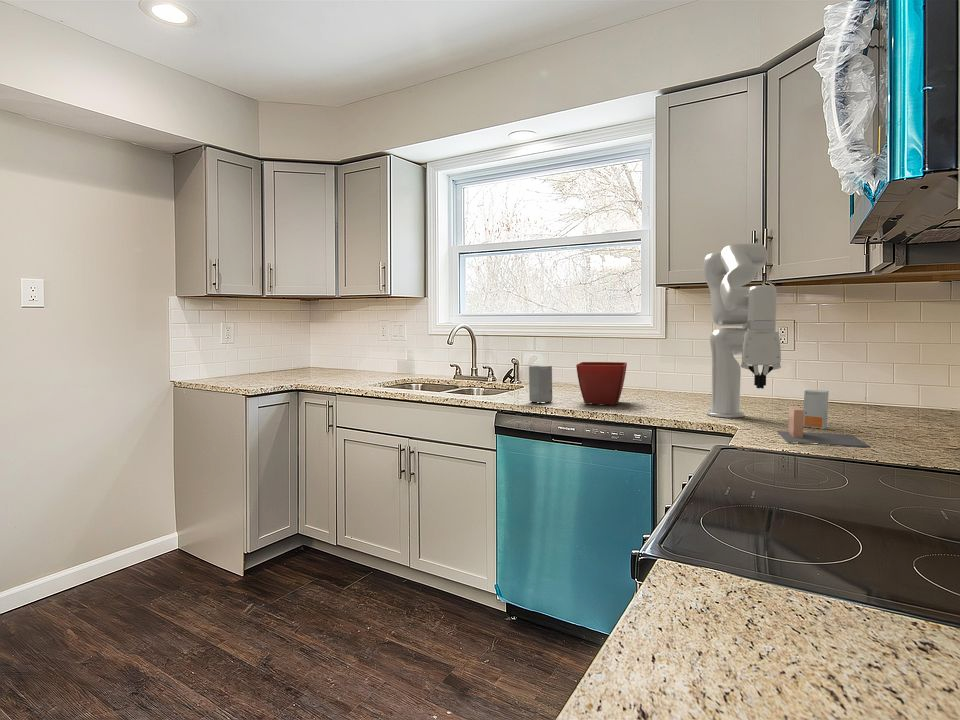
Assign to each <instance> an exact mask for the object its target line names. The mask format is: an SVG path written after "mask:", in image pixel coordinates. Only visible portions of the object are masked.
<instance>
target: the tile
mask: <svg viewBox="0 0 960 720" xmlns="http://www.w3.org/2000/svg"><path fill="white" fill-rule="evenodd" d="M803 421H804V408H801V407H800V406H789V407H788V428H787V430H788V431H787V432H788V433H789V434H790V435H792V436H793V437H802V438H803V432H804V427H803Z"/></svg>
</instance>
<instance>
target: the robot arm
mask: <svg viewBox="0 0 960 720" xmlns="http://www.w3.org/2000/svg"><path fill="white" fill-rule="evenodd" d="M768 258H769V256H768V250H767V248H766V246H765V245H764V244H762V243H759V242H757V243H756V242H754V243H753V242H749V243H746V242H745V243H732V244H728V245H727V246H725V247H724V248H723V249H722V250H721V251H715V252H714V251H713V252H711V253H709V254H707V255H706V256H705V257H704V259H703V275H704V278H705V281H706V284H707V286H708V290H709V292H710V293H709V295H710V303H711V304H710V305H711V315H712V320H713V323H714V324H715V325H716V326H719V327H723V328H717V329H714V330H713V331H712V333H711V334H710V338H709V344H710V350H711V395H710V396H711V400H710V401H711V406H710V409H708V410H706V415H708V416H711V417H717V418H726V419H727V418H729V419H731V418H734V419H735V418H737V419H738V418H742V417H745V413H744V412H743V411H741V410H740V407H741V405H740V403H741V402H740V401H741V368H742V369H746V370H749V371H750V372H751V373H752V374H753V375H754V379H753V381H754V384H753V386H756V388H757V389H765V386H767V375H768V374H769V373H771V371H775V370H778V369H781V368H782V367H781V361H782V352H781V351H782V350H781V338H780V337H781V336H780V333H779V331H776V329H777V326H776V325H777V323H776V322H777V295H778V294H777V288H776V286H774V285H768V284H767V285H766V284H763V285H753V286H747V284H749V283H751V282H752V281H753V280H754V279H755V277H756V275H757V271H759V270H761V269H762V268H763V267H765V266H766V264H767V262H768ZM739 327H740V328H739ZM741 327H742V328H741ZM737 355H741V365H740V363H739V361H738V360H737V359H736V358H735V356H737ZM759 366H762V369H761V372H759Z"/></svg>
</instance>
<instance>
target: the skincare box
mask: <svg viewBox="0 0 960 720" xmlns="http://www.w3.org/2000/svg"><path fill="white" fill-rule="evenodd" d="M829 393H830V392H829V390H820V389H805V390H804V393H803V395H804V397H803V410H804V421H803V428H809V427H811V429H816V428H820V429H819V430H825V429H827V428H826V427H828V413H829V412H828V410H829V409H828V408H829ZM824 428H825V429H824Z"/></svg>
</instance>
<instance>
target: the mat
mask: <svg viewBox="0 0 960 720" xmlns="http://www.w3.org/2000/svg"><path fill="white" fill-rule="evenodd" d="M777 432H778V433H779V434H780V435H781V436H782V437H783V438H784V439H785V440H786V441H787V442H798V443H818V444H830V445H829V446H831V445H844V446H843V447H849V446H859V447H858V448H866V447H871V445H870V444H867V443H866V442H864V441H863V440H861V439H859V438H858V437H856V436H854V435H853V434H841V433H827V432H826V433H824V432H823V433H822V432H804V431H803V438H802V437H793V436H792V435H790V434H789V433H788V431H787V430H786V431H783V430H777V431H776V433H777ZM778 433H777V434H778ZM779 434H778V435H779ZM780 435H779V436H780ZM781 436H780V437H781ZM782 437H781V438H782ZM783 438H782V439H783ZM784 439H783V440H784ZM785 440H784V441H785ZM786 441H785V442H786ZM787 442H786V443H787Z"/></svg>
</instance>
